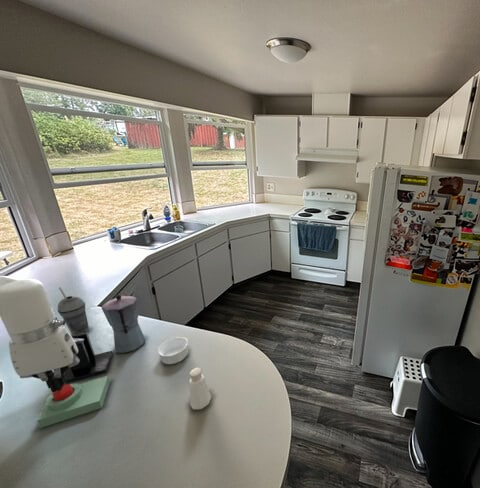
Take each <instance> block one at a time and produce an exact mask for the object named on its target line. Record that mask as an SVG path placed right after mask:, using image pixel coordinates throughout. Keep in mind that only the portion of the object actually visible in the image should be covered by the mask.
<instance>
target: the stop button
mask: <svg viewBox="0 0 480 488" xmlns="http://www.w3.org/2000/svg"><path fill="white" fill-rule="evenodd" d="M72 393H73V388H72V386H71V385H69V384H64V386H63V387H62V389H61V390H60V391H56V392H53V394H52V393H51V394H52V395H53V398H54V400H55V401H61V400H64V399H66V398H68V397H69V396H70V395H72Z"/></svg>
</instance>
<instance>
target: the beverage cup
mask: <svg viewBox="0 0 480 488" xmlns="http://www.w3.org/2000/svg"><path fill="white" fill-rule="evenodd" d="M58 290H59V292H60V293H61V295H62V297H63V298H62V299H61V300H60V301H59V302H58V303H57V313H58V314H59V315H60V317H62V319H63V320H64V321H65V325H66V327H67V328H68V331H69V333H70V334H71V335H75V334H80V333H85V332H87V334H88V333H89V332H90V326H89V322H88V316H87V311H86V302H85V301H84V299H83V298H81V297H79V296H77V295H69V296H67V295H66V294H65V292H64V291H63V289H62V288H61V287H60V286H59V287H58Z"/></svg>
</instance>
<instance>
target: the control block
mask: <svg viewBox="0 0 480 488" xmlns="http://www.w3.org/2000/svg"><path fill="white" fill-rule="evenodd" d="M68 385H71V386H72V388H73V393H72V395H70V396H69V397H68V398H66V399H64V400H61V401H55V400H54V398H53V395H52V394H53V393H52V392H51V394H50V395H48V397H47V399H46V400H45V405H44V407H43V408H42V411H41V412H40V413H39V417H38V418H37V419H36V421H37V423H38V425H39V427H40V429H41V428H45V427H48V426H51V425H54V424H58V423H60V422H63V421H67V420H70V419H72V418H76V417H79V416H83V415H84V414H87V413H91V412H94V411H97V410H100V409H102V408H103V406H104V402H105V400H106V397H107V393H108V391H109V387H110V385H111V381H110V378H109V375H106V376H102V377H99V378H95V379H92V380H88V381H84V382H82V383H68Z"/></svg>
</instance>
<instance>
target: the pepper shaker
mask: <svg viewBox="0 0 480 488" xmlns="http://www.w3.org/2000/svg"><path fill="white" fill-rule="evenodd" d="M189 378H190V379H189V381H188V386H189V387H188V389H189V390H188V391H189V404H190V407H191V408H192V410H202V409H203V408H205V407H207V406H208V405H209V404H210V402H211V399H212V395H211V393H210V389H209V386H208V384H207V381H206V377H205V376H204V374H203V373H202V369H201V368H199V367H195V368H193V369H192V370H191V371H190V372H189Z"/></svg>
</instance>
